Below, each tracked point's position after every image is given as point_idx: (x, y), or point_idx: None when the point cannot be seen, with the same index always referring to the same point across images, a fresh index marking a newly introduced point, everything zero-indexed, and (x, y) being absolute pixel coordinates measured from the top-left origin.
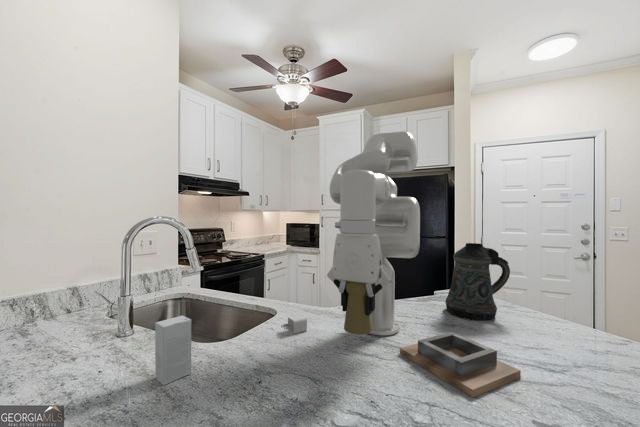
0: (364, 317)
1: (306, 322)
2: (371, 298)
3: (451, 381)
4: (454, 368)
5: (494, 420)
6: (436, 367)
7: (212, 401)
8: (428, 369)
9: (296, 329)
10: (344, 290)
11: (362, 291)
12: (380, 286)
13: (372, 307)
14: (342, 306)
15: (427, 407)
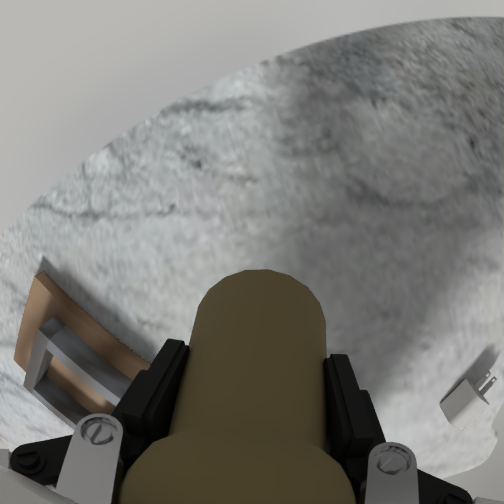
0: (197, 332)
1: (447, 417)
2: (118, 418)
3: (70, 304)
4: (61, 331)
5: (18, 219)
6: (97, 339)
7: (494, 64)
8: (117, 342)
9: (463, 389)
10: (363, 469)
11: (149, 451)
12: (14, 461)
13: (137, 378)
14: (352, 370)
15: (92, 201)
